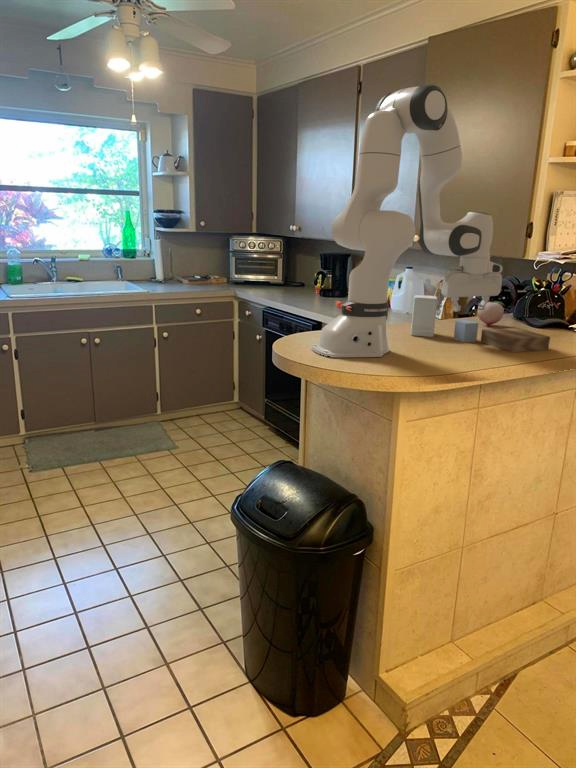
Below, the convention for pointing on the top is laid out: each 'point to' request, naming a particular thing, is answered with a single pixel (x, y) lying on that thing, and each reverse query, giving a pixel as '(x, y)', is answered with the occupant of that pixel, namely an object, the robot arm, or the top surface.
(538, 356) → the top surface
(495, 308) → the decorative fruit
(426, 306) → the supplement box
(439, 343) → the top surface
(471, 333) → the slate block
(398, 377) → the top surface
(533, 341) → the walnut base
